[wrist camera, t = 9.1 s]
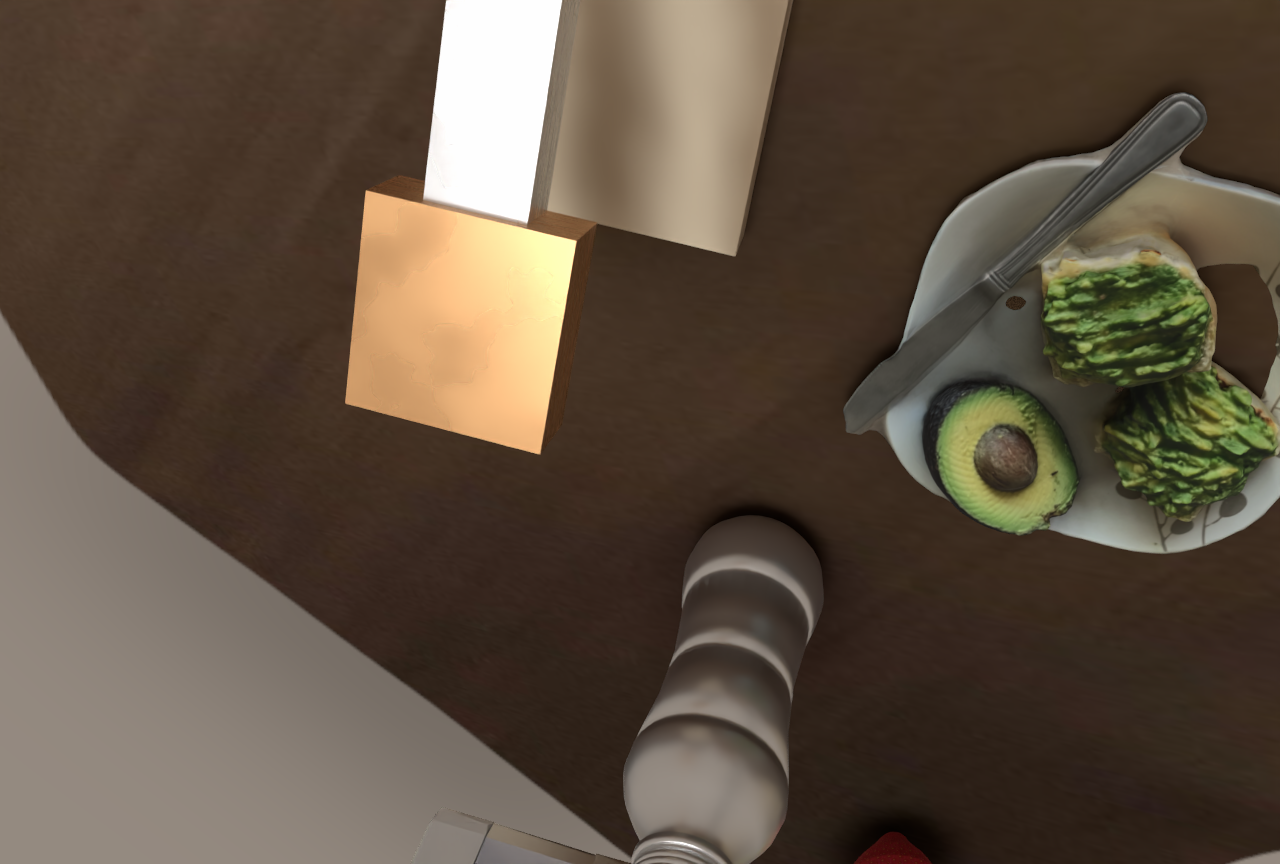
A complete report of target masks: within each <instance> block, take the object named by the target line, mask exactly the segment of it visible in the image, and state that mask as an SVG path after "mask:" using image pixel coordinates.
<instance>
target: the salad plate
mask: <svg viewBox="0 0 1280 864" xmlns="http://www.w3.org/2000/svg"><path fill="white" fill-rule="evenodd" d="M1206 123H1207V113H1206V110H1205V107H1204V105H1203V104H1202V103H1201V102H1200V100H1198V99H1197V98H1196V97H1195V96H1193V95H1192V94H1190V93H1186V92H1180V93H1176V94H1172V95H1170V96H1168V97H1166V98H1165V99H1163V100H1162V101H1160V102H1159V103H1158V104H1157V105H1156V106H1155V107H1154V108H1153V109H1151V110H1150V111H1149V112H1148V113H1147V114H1146V115H1145V116H1144V117H1143V118H1142V119H1141V120H1140V121H1139V122H1138V123H1136V124H1135V125H1134V126H1133V127H1132V128H1131V129H1130V130H1129V131H1128V132H1127V133H1126V134H1125V135H1124V136H1123V137H1122V138H1121V139H1119V140H1118V141H1117V142H1115V143H1114V144H1112V145H1111V146H1110V147H1107V148H1104V149H1101V150H1099V151H1096V152H1093V153H1086V154H1078V155H1074V156H1069V157H1058V158H1049V159H1043V160H1037V161H1035V162H1032V163H1030V164H1028V165H1026V166H1024V167H1022V168H1020V169H1019V170H1016V171H1013V172H1011V173H1009V174H1007V175H1005V176H1003V177H1001V178H999V179H997V180H995V181H993V182H992V183H990V184H988V185H986V186H985V187H983V188H981V189H980V190H979V191H977V192H975V193H973V194H970V195H969V196H967V197H965V198H964V199H963V200H961V201H960V203H959V204H958V206H957V207H956V208H955V210H954V211H953V212H952V213H951V214H950V215H949V216H948V217H947V218H946V220H945V221H944V223H943V224H942V226H941V228H940V230H939V231H938V233H937V235H936V237H935V239H934V241H933V243H932V245H931V248H930V250H929V252H928V255H927V257H926V259H925V262H924V265H923V268H922V271H921V274H920V279H919V282H918V286H917V290H916V293H915V297H914V300H913V303H912V305H911V308H910V312H909V316H908V320H907V324H906V328H905V331H904V337H903V339H902V341H901V344H900V346H899V348H898V350H897V351H896V352H895V353H894V354H893V355H892V356H891V357H890V358H888V359H886V360H884V361H883V362H881V363H880V364H879V365H878V366H877V367H876V368H875V369H874V370H873V371H872V372H871V373H870V374H869V375H868V376H867V377H866V378H865V380H864V381H863V382H862V383H861V385H860V386H859V387H858V388H857V389H856V391H855V392H854V394H853V395H852V396H851V398H850V399H849V401H848V402H847V403H846V405H845V407H844V409H843V412H844V418H845V420H846V432H848V433H856V434H858V435H860V434H862V433H864V432H866V431H868V430H876V431H878V432H879V433H880V434H882V435H883V436H884V438H885V439H886V440H887V442H888V443H889V445H890V446H891V447H892V449H893V450H894V452H895V454H896V455H897V457H898V459H899V461H900V462H901V463H902V465H903V466H904V468H905V469H906V470H907V471H908V472H909V474H910V475H911V476H912V477H913V478H914V479H915V480H916V481H917V482H919V483H920V484H921V485H923V486H924V487H925V488H927V489H928V490H929V491H931V492H932V493H934V494H936V495H938V496H941V497H943V498H945V499H947V500H948V501H950V502H951V503H952V504H953V505H954V506H955V507H956V508H957V509H958V510H959V511H960V512H962V513H963V514H964V515H966V516H968V517H969V518H971V519H972V520H974V521H976V522H977V523H979V524H982V525H984V526H986V527H988V528H991V529H994V530H997V531H1000V532H1005V533H1008V534H1016V535H1021V536H1022V535H1027V534H1031V533H1032V532H1033V531H1035V530H1047V529H1049V530H1053V531H1057V532H1059V533H1062V534H1064V535H1067V536H1071V537H1075V538H1081V539H1085V540H1088V541H1092V542H1095V543H1098V544H1103V545H1107V546H1111V547H1115V548H1120V549H1125V550H1131V551H1136V552H1144V553H1158V554H1169V553H1178V552H1184V551H1189V550H1193V549H1197V548H1201V547H1204V546H1206V545H1209V544H1211V543H1213V542H1216V541H1219V540H1221V539H1224V538H1226V537H1228V536H1230V535H1232V534H1234V533H1236V532H1238V531H1241V530H1244V529H1245V528H1247V527H1248V526H1249V525H1251V524H1252V523H1254V522H1255V521H1257V520H1258V519H1259V518H1260V517H1262V516H1263V515H1264V514H1265V513H1266V512H1267V510H1268V509H1269V508H1270V507H1271V506H1272V505H1273V504H1274V503H1275V502H1276V501H1277V499H1278V498H1279V497H1280V195H1278V194H1275V193H1273V192H1270V191H1267V190H1264V189H1261V188H1257V187H1253V186H1251V185H1248V184H1244V183H1239V182H1236V181H1231V180H1226V179H1220V178H1215V177H1212V176H1210V175H1207V174H1204V173H1202V172H1200V171H1198V170H1195V169H1192V168H1190V167H1187V166H1185V165H1183V164H1182V163H1181V160H1180V158H1179V157H1180V155H1181V153H1182V151H1183V150H1184V149H1185V147H1186V146H1187V145H1188V144H1190V143H1191V142H1192V141H1193V140H1194V139H1196V138H1197V137H1198V136H1199V135H1200V134H1201V132H1202V131H1203V129H1204V127H1205V125H1206ZM1217 264H1251V265H1253V266H1254V267H1255V269H1256V271H1257V272H1258V273H1259V275H1260V276H1261V278H1262V279H1263V281H1264V282H1265V284H1266V285H1267V287H1268V289H1269V291H1270V293H1271V296H1272V301H1273V306H1274V309H1275V312H1276V316H1277V319H1278V329H1279V332H1278V338H1277V341H1276V349H1277V355H1276V358H1275V361H1274V364H1273V366H1272V367H1271V371H1270V375H1269V379H1268V382H1267V384H1266V387H1265V389H1264V392H1263V394H1262V397H1261V398H1260V399H1259V398H1258V397H1257V396H1256V395H1255V394H1253V393H1252V392H1251V391H1250V390H1249V389H1248V388H1246V387H1245V386H1244V385H1243V384H1242V383H1241V382H1239V381H1238V380H1237V379H1236V378H1235V377H1234V376H1233V375H1231V374H1230V373H1229V372H1227V371H1226V370H1225V369H1223V368H1222V367H1220V366H1219V365H1217V364H1216V363H1214V362H1213V361H1211V360H1212V356H1213V353H1214V351H1215V339H1216V326H1217V308H1216V303H1215V300H1214V298H1213V296H1212V294H1211V292H1210V290H1209V289H1208V288H1207V287H1206V286H1205V284H1204V283H1203V282H1202V281H1201V279H1200V278H1199V276H1198V273H1197V270H1198V269H1199V268H1201V267H1205V266H1208V265H1217ZM1012 296H1018V297H1022V298H1023V299H1024V300H1026V304H1025V306H1023V307H1022V308H1021V309H1020V310H1012V309H1009V308H1008V307H1007V306H1006V301H1007V299H1008V298H1009V297H1012ZM1119 386H1121V387H1125V388H1124V389H1123V391H1121V392H1120V393H1116V392H1115V390H1116V389H1117V388H1118V387H1119Z"/></svg>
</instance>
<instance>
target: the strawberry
mask: <svg viewBox="0 0 1280 864" xmlns="http://www.w3.org/2000/svg"><path fill="white" fill-rule="evenodd" d="M854 864H932V863H931V862H930V861H929V859H928V858H927V857H926V856H925V855H924V854H923V852H922V851H920V850H919V849H918V848H916V847H915V846H914V845H912V844H911V843H910V842H909V841H908V840H907V839H906V837H905V836H904V835H902V834H901V833H899V832H889V833H886V834H885V835H883V836H882V837H881V838H880V839H879V840H878V841H877V842H876V843H875V844H874V845H872V846H871V847H870V848H869V849H867V850H866V851H865V852H864V853H863V854H862V855H861V856H860V857H859V858H858V859H857V860H856V861H855V863H854Z"/></svg>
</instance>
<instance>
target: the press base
mask: <svg viewBox="0 0 1280 864" xmlns="http://www.w3.org/2000/svg"><path fill="white" fill-rule="evenodd" d="M792 3H793V0H580V7H579V13H578V19H577V26H576V32H575V38H574V45H573V51H572V57H571V63H570V70H569V76H568V82H567V89H566V95H565V101H564V108H563V114H562V120H561V127H560V133H559V139H558V145H557V152H556V158H555V164H554V171H553V177H552V183H551V190H550V196H549V202H548V208H547V210H548V211H552V212H556V213H560V214H564V215H568V216H573V217H577V218H581V219H585V220H589V221H594V222H597V224H601V225H605V226H610V227H614V228H618V229H622V230H626V231H631V232H635V233H639V234H643V235H647V236H651V237H656V238H660V239H664V240H668V241H672V242H677V243H681V244H685V245H689V246H693V247H698V248H702V249H706V250H710V251H714V252H718V253H723V254H727V255H731V256H736V254H737V251H738V249H739V246H740V244H741V241H742V239H743V237H744V232H745V228H746V223H747V218H748V213H749V209H750V204H751V199H752V194H753V189H754V185H755V180H756V175H757V170H758V166H759V161H760V156H761V151H762V147H763V142H764V137H765V132H766V127H767V123H768V118H769V113H770V108H771V104H772V99H773V94H774V89H775V84H776V80H777V75H778V70H779V65H780V61H781V56H782V51H783V46H784V41H785V37H786V32H787V27H788V22H789V18H790V13H791V8H792Z"/></svg>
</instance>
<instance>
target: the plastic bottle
mask: <svg viewBox="0 0 1280 864" xmlns="http://www.w3.org/2000/svg"><path fill="white" fill-rule="evenodd" d="M823 601H824V594H823V579H822V569H821V566H820V562H819V559H818V557H817V556H816V554H815V552H814V550H813V549H812V548H811V546H810V545H809V544H808V543H807V542H806V540H805V539H804V538H803V537H802V536H801V535H800V534H798V533H797V532H796V531H795V530H794V529H792V528H791V527H789V526H788V525H786V524H784V523H783V522H780V521H778V520H775V519H773V518H769V517H764V516H758V515H745V516H738V517H734V518H731V519H727V520H724V521H721V522H719V523H717V524H716V525H714V526H712V527H711V528H710V529H708V530H707V531H706V532H705V533H704V534H703V536H702V537H701V538H700V540H699V541H698V543H697V545H696V546H695V548H694V549H693V551H692V553H691V554H690V556H689V558H688V561H687V563H686V566H685V573H684V581H683V590H682V614H681V620H680V625H679V631H678V636H677V642H676V647H675V652H674V655H673V658H672V660H671V663H670V666H669V669H668V671H667V674H666V676H665V679H664V682H663V684H662V687H661V690H660V692H659V695H658V697H657V699H656V701H655V702H654V704H653V706H652V708H651V710H650V712H649V714H648V716H647V718H646V720H645V722H644V724H643V726H642V728H641V729H640V731H639V733H638V736H637V738H636V739H635V741H634V743H633V746H632V748H631V751H630V753H629V756H628V758H627V761H626V763H625V766H624V776H623V780H624V798H625V803H626V808H627V810H628V813H629V816H630V819H631V821H632V824H633V827H634V829H635V831H636V833H637V835H638V837H639V839H640V842H639V843H638V844H637V845H636V847H635V850H634V852H633V856H632V859H631V863H632V864H749V863H751V862H752V861H753V860H755V859H756V858H757V857H758V856H760V855H761V854H762V853H763V852H764V851H765V850H766V849H767V848H768V847H769V846H770V845H771V844H772V842H773V840H774V838H775V837H776V835H777V833H778V831H779V830H780V828H781V826H782V824H783V822H784V821H785V817H786V812H787V803H788V793H789V789H788V732H789V723H790V714H791V703H792V697H793V687H794V684H795V680H796V677H797V674H798V670H799V667H800V664H801V660H802V657H803V654H804V650H805V647H806V645H807V643H808V641H809V639H810V637H811V635H812V633H813V631H814V629H815V627H816V624H817V621H818V619H819V616H820V613H821V611H822V606H823Z"/></svg>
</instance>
